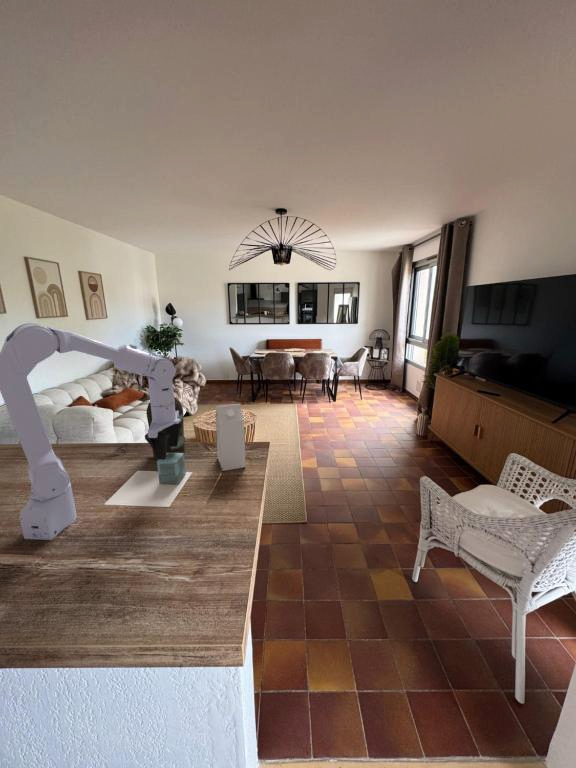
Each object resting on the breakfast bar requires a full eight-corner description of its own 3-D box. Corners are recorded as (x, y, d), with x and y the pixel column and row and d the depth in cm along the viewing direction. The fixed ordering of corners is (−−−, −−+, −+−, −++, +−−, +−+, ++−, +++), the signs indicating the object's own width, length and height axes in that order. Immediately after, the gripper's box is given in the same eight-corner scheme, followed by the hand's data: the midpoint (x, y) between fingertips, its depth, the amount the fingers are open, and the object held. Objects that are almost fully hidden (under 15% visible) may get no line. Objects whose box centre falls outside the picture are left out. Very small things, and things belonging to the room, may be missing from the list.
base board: (169, 511, 77) (169, 506, 77) (104, 508, 78) (103, 504, 78) (192, 476, 93) (192, 472, 92) (138, 474, 94) (137, 470, 93)
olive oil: (144, 461, 101) (134, 383, 95) (167, 447, 111) (159, 375, 105) (172, 466, 98) (164, 386, 92) (193, 451, 108) (187, 378, 101)
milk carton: (217, 460, 101) (214, 402, 97) (240, 457, 104) (238, 400, 99) (221, 471, 95) (218, 410, 90) (245, 467, 97) (243, 407, 93)
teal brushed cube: (178, 484, 86) (176, 462, 84) (159, 484, 86) (156, 461, 85) (185, 474, 91) (183, 453, 89) (167, 474, 91) (165, 452, 90)
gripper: (166, 413, 76) (171, 466, 79) (188, 395, 90) (191, 441, 93) (136, 412, 76) (143, 465, 80) (163, 395, 90) (167, 440, 94)
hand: (167, 452), depth 87 cm, fingers open, 7 cm apart
